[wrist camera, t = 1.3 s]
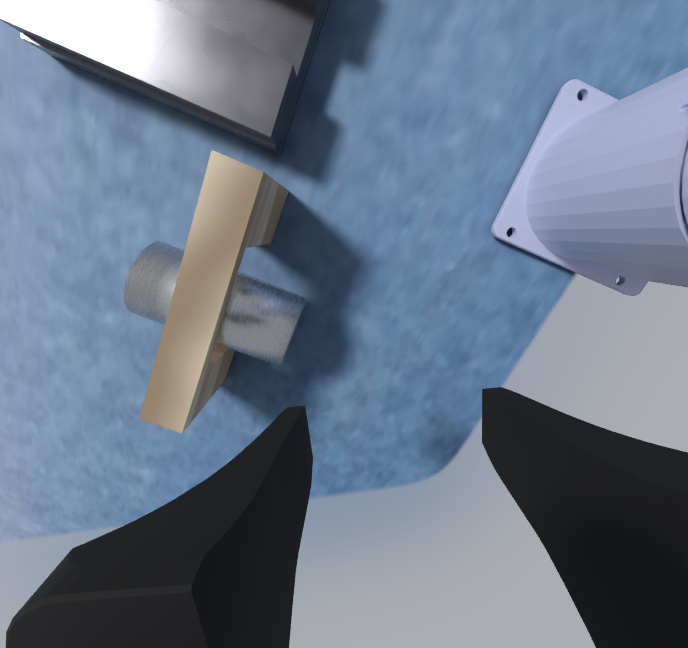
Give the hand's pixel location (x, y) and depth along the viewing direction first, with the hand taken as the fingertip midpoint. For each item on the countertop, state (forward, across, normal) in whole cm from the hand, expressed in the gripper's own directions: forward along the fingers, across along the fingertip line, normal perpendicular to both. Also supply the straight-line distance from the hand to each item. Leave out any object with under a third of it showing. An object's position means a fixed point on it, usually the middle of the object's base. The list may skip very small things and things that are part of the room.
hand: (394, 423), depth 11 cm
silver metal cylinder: (+9, +8, -4) cm, 13 cm away
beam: (+9, +8, -4) cm, 13 cm away
